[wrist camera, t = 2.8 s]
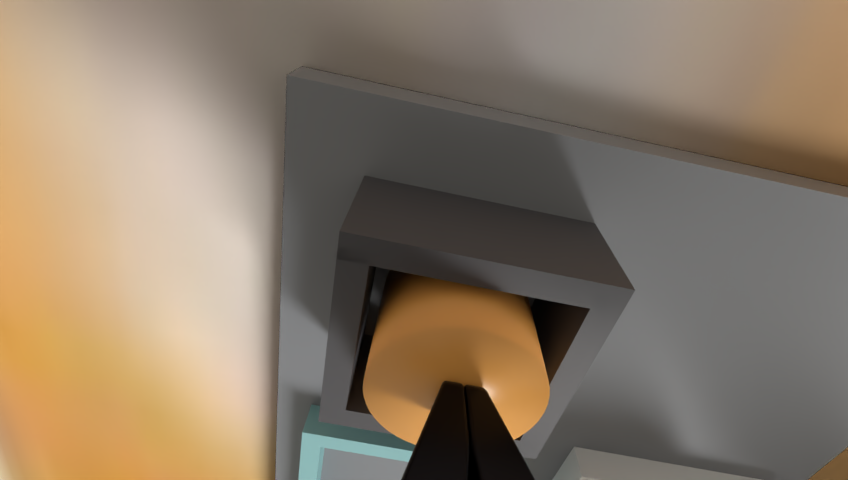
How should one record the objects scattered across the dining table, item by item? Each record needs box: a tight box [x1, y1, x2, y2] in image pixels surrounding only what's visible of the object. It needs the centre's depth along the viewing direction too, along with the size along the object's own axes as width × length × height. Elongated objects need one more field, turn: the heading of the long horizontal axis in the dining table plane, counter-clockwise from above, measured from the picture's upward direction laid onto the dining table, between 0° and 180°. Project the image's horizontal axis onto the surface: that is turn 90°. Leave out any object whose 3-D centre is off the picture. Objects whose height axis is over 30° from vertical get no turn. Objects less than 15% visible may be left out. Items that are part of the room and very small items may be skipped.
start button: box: [363, 270, 550, 445], centre depth 9 cm, size 4×4×3 cm
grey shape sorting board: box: [275, 67, 848, 480], centre depth 13 cm, size 18×18×4 cm
